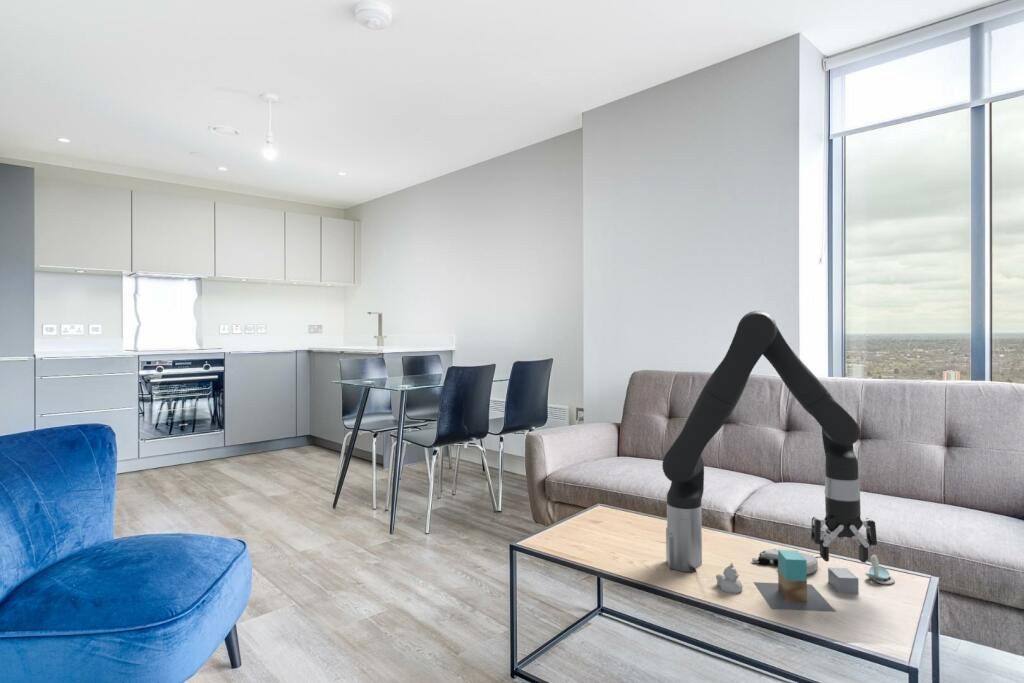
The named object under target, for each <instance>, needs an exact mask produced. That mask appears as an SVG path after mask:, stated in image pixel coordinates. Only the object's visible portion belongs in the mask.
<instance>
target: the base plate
mask: <svg viewBox="0 0 1024 683" xmlns="http://www.w3.org/2000/svg"><path fill="white" fill-rule="evenodd" d="M753 584H754V586H756V588H757V590H758V591H759V593H760V594H761V596H762V597H763V598H764V600H765V601H766V603H767V605H768V606H769V607H770V609H771V610H786V611H787V610H788V611H810V612H811V611H812V612H831V613H832V612H833V613H836V612H837V610H835V609H834V608H833V606H832V605H831V604H830V603H829V602H828V601H827V599H825V597H824V596H823V595H822V594H821V593H820V592H819V591H818V590H817V589H816V587H814V585H812V584H808V583H807V602H788V601H786V599H785V598H784V597H783V595H782V594H781V593H780V592H779V590H778V582H755V581H754V582H753Z"/></svg>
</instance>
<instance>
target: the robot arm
mask: <svg viewBox="0 0 1024 683" xmlns="http://www.w3.org/2000/svg"><path fill="white" fill-rule="evenodd" d="M762 356H764V357H765V359H766V360H767V362H769V364H770V365H771V366H772V367H773V369H774V370H775V371H776V373H777V374H778V376H779V377H780V378H781V380H782V381H783V383H784V385H785V386H786V387H787V389H788V391H789V392H790V393H791V394H792V396H793V397H794V398H795V400H796V401H797V402H798V403H799V404H800V405H801V407H802V408H803V409H804V410H805V411H806V412H807V413H808V414H809V415H810V416H812V418H814V419H815V421H816V422H817V423H818V424H819V426H821V438H822V443H823V450H824V455H825V465H824V466H825V467H824V469H825V481H824V498H825V500H824V502H825V503H824V504H825V506H824V507H825V509H824V510H825V517H824V518H817V517H816V516H813V517H812V518H811V530H810V531H811V533H810V534H811V535H810V538H811V540H812V541H813V542H814V544H816V545H819V556H821V557H822V558H821V559H823V561H825V562H830V552H829V551H830V550H829V548H830V547H829V545H830V544H831V542H832V541H834V540H835V539H836V537H837V538H840V539H841V538H850V539H852V538H855V539H856V540H857V542H858V543H859V544H858V559H859V561H860V562H861V563H867V561H868V560H869V548H870V546H877V544H878V540H877V538H878V537H877V530H876V529H877V527H876V522H875V521H874V520H873V519H871V518H869V517H866V518H864V519H862V518H861V486H860V483H859V462H858V459H857V458H858V457H857V456H856V455H855V450H854V444H856V443H857V441H859V439H860V436H861V428H860V425H859V424H858V422H856V420H855V419H854V418H853V417H852V415H850V414H849V412H848V411H847V410H845V408H844V407H842V405H841V404H840V403H839V402H837V401H836V400H835V398H834V397H833V396H832V394H831V393H830V392H829V390H828V389H827V388H826V387H825V385H823V383H822V382H821V380H819V379H818V378H817V377H816V375H815V374H814V373H813V372H812V371H811V369H809V368H808V366H807V365H806V364H804V362H803V361H802V359H800V358H799V356H798V355H797V354H796V352H795V351H794V350H793V349H792V348H791V346H790V345H789V344H788V342H787V341H786V339H785V338H784V336H783V334H782V333H781V331H780V329H779V328H778V326H777V323H776V320H775V319H774V317H773V316H772V315H770V314H769V313H767V312H765V311H761V310H754V311H750V312H748V313H746V314H744V315H743V317H742V318H741V319H740V320H739V322H738V324H737V327H736V330H735V333H734V336H733V338H732V340H731V343H730V345H729V348H728V349H727V352H726V353H725V355H724V357H723V359H722V361H721V362H720V363H719V364H718V366H717V367H716V368H715V370H714V371H713V372H712V374H711V375H710V377H709V378H708V380H707V381H706V383H704V384H705V385H704V386H703V388H702V390H701V392H700V393H699V396H698V398H697V400H696V401H695V404H694V405H693V407H692V409H691V411H690V414H689V415H688V417H687V419H686V422H685V424H684V426H683V427H682V429H681V431H680V432H679V435H678V436H677V437H676V439H675V441H673V443H672V445H671V446H670V448H669V449H668V450H667V452H666V453H665V455H664V457H663V459H662V470H663V474H664V476H665V477H666V478H667V479H668V481H671V482H670V485H669V486H670V487H669V488H668V489H669V490H668V491H667V493H666V522H667V523H666V526H667V527H665V544H666V545H665V550H666V552H665V553H666V554H665V555H666V556H665V558H666V563H667V566H668V568H669V569H670V570H676V571H680V572H684V573H686V572H688V573H691V572H697V569H696V568H700V567H701V566H702V565H703V543H702V542H703V540H702V534H703V533H702V531H703V530H702V528H703V527H702V524H703V522H702V499H703V496H704V489H705V487H704V486H705V465H704V458H703V455H702V454H703V451H704V450H705V448H706V446H707V445H708V443H710V441H711V440H712V438H714V436H715V435H716V434H717V433H718V432H719V430H721V428H722V427H723V426H724V425H725V423H726V422H727V421H728V419H729V418H730V416H731V415H732V413H733V411H734V410H735V408H736V406H737V405H738V403H739V401H740V398H741V397H742V395H743V392H744V390H745V388H746V385H747V383H748V380H749V378H750V375H751V373H752V371H753V369H755V368H754V367H755V366H756V364H757V363H758V361H759V360H760V359H761V357H762ZM824 525H825V526H826V529H825V530H824V531H823V533H822V535H821V529H823V527H824ZM862 526H863V527H864V528H865V532H866V538H865V537H864V536H863V535H862V533H861V532H860V531H859V530H860V529H861V528H862Z"/></svg>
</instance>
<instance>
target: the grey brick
mask: <svg viewBox="0 0 1024 683" xmlns="http://www.w3.org/2000/svg"><path fill="white" fill-rule="evenodd" d="M827 581H828V584H830V585H831V587H833V588H834V590H836V592H838V594H839V593H840V594H841V593H842V594H857V595H858V594H859V592H860V591H859V586H860V585H859V577H858V576H857V575H855V574H854V573H853V572H852V571H851V570H850V569H849V568H847V567H827Z"/></svg>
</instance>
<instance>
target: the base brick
mask: <svg viewBox="0 0 1024 683" xmlns="http://www.w3.org/2000/svg"><path fill="white" fill-rule="evenodd" d="M777 572H778V573H777V575H778V576H777V577H778V578H777V580H778V582H777V583H778V590H779V592H780V593H781V594H782V595H783V597H784V598H785V599H786V601H788V602H807V584H808V580H807V581H789V580H786V579H785V578H784V577H783V575H782V574H781V573H780V571H779V570H778V569H777Z"/></svg>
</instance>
